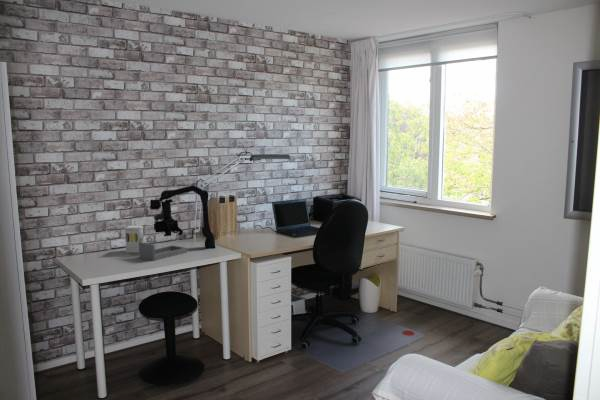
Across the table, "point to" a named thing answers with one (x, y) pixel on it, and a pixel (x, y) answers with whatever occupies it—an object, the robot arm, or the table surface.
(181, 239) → the table surface
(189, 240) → the table surface
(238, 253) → the table surface
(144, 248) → the case
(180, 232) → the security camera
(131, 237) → the supplement box
